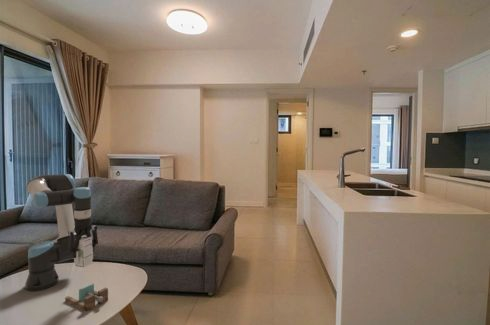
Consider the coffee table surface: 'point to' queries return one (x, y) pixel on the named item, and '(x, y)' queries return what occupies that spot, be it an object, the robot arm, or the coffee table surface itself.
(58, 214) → the robot arm
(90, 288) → the pusher
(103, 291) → the lane
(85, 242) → the syrup box
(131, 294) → the coffee table surface
